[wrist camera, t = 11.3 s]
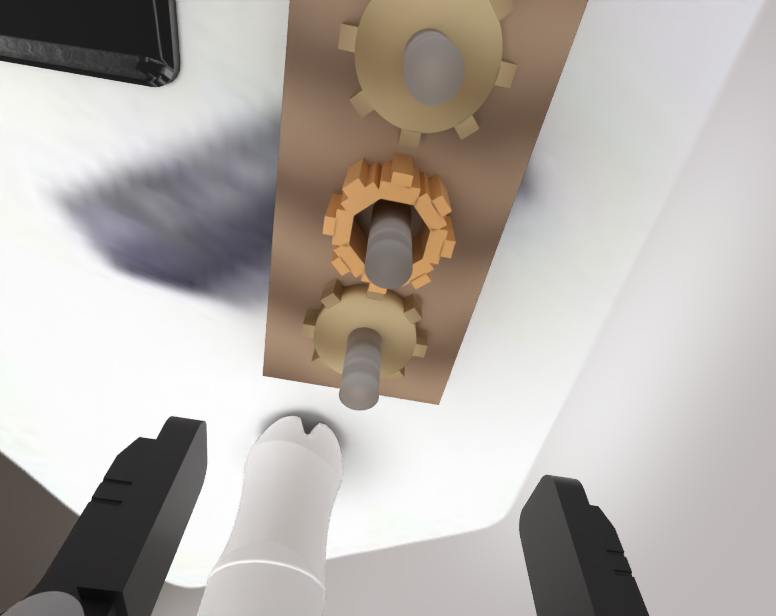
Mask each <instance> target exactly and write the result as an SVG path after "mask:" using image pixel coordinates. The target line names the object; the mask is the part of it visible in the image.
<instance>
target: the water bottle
mask: <svg viewBox="0 0 776 616" xmlns="http://www.w3.org/2000/svg"><path fill="white" fill-rule="evenodd" d="M342 474H343V467H342V456H341V450H340V446H339V443H338V440H337V438H336V436H335V434H334V433H333V431H332V430H331V429H330V428H329V427H328V426H327V425H325V424H323V423H320V422H319V424H317V425H316V426H315V427H314V428H313V430H312V431H311V432H310V434H305V433H304V429H303V426H302V422H301V419H300V417H297V416H287V417H283V418H281V419H279V420H278V421H276V422H275V423H273V424H272V425H271V426H270V427H269V428H268V429H267V430H266V431H265V432H264V433H263V434H262V435H261V436H260V437H259V438H258V439H257V440H256V441H255V443H254V444H253V445H252V447H251V449H250V451H249V453H248V456H247V459H246V462H245V466H244V479H243V487H242V495H241V500H240V505H239V509H238V513H237V517H236V520H235V524H234V527H233V530H232V532H231V535H230V538H229V540H228V542H227V545H226V547H225V549H224V551H223V553H222V555H221V557H220V558H219V560H218V562H217V564H216V565H215V566H214V568H213V569H212V571H211V572H210V574H209V576H208V579H207V586H206V589H205V592H204V595H203V598H202V601H201V604H200V607H199V610H198V613H197V616H323V610H324V602H325V599H326V583H325V558H326V543H327V533H328V527H329V521H330V516H331V512H332V508H333V504H334V501H335V498H336V495H337V492H338V490H339V487H340V485H341V482H342Z"/></svg>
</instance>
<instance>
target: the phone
mask: <svg viewBox="0 0 776 616" xmlns="http://www.w3.org/2000/svg"><path fill="white" fill-rule="evenodd" d="M0 61H5V62H11V63H17V64H22V65H28V66H34V67H40V68H45V69H51V70H57V71H63V72H69V73H74V74H80V75H86V76H92V77H97V78H103V79H109V80H115V81H121V82H126V83H132V84H138V85H144V86H149V87H160V86H163V85H165V84H168V83H171V82H172V81H173V80H174V79H175V78H176V77H177V76H178V73H179V71H180V53H179V40H178V28H177V15H176V2H175V0H0Z"/></svg>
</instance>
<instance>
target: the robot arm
mask: <svg viewBox="0 0 776 616" xmlns="http://www.w3.org/2000/svg"><path fill="white" fill-rule="evenodd" d="M206 469H207V430H206V422H205V421H200V420H194V419H187V418H181V417H174V416H171V417H169V418H168V420H167V421H166V422H165V424H164V426H163V428H162V430H161V431H160V433H159V435H158V437H157V439H149V438H142V437H139V438H138V439H136V440H135V441H134V442H133V443H132V444H130V445H129V446H128V447H127V448H126V449H124V450H123V451H122V452H121V453H120V454H118V455H117V457H116V458H115V460H114V462H113V463H112V465H111V467H110V468H109V470H108V472H107V473H106V475H105V476H104V479H103V482H102V483H100V485H99V486H98V488H97V490H96V491H95V493H94V495H93V496H92V500H91V502H89V503H88V504H87V506H86V508H85V509H84V511H83V513H82V514H81V516H80V518H79V519H78V521H77V522H76V524H75V526H74V527H73V529H72V531H71V532H70V534H69V536H68V537H67V539H66V541H65V542H64V544H63V545H62V547H61V549H60V550H59V552H58V554H57V555H56V557H55V559H54V560H53V562H52V564H51V565H50V567H49V569H48V570H47V572H46V573H45V575H44V576H43V578H42V579H41V581H40V582H39V583H38V584H37V586H36V587H35V588H34V589H33V590H32V591H31V592H30V593H29V594H28V595H27V596H26V597H25V598H24V599H22V600H21V601H20V602H18V603H17V604H15V605H14V606H12V607H11V608H10V609H8V610H6V611H5V612H3V613H1V614H0V616H151V614H152V611H153V608H154V606H155V603H156V601H157V599H158V596H159V593H160V591H161V589H162V586H163V584H164V581H165V579H166V576H167V574H168V571H169V569H170V566H171V564H172V561H173V559H174V556H175V554H176V551H177V549H178V546H179V544H180V541H181V539H182V536H183V534H184V531H185V529H186V526H187V524H188V521H189V519H190V516H191V514H192V511H193V509H194V506H195V504H196V501H197V499H198V496H199V494H200V491H201V489H202V486H203V482H204V479H205V475H206ZM519 532H520V538H521V542H522V547H523V552H524V556H525V561H526V566H527V571H528V576H529V580H530V585H531V590H532V594H533V599H534V604H535V608H536V613H537V616H649V614H648V611H647V609H646V606H645V604H644V601H643V599H642V596H641V593H640V591H639V588H638V586H637V583H636V581H635V578H634V577H632V571H631V568H630V566H629V563H628V560H627V558H626V557H624V550H623V548H622V545H621V543H620V540H619V538H618V535H617V533H616V530H615V528H614V526H613V525H612V524H611V522H610V521H609V520H608V518H607V517H606V516H605V514H604V513H603V512H602V510H601V509H600V508H599V507H598V506H593V505H590V504H589V502H588V499H587V496H586V493H585V491H584V488H583V486H582V484H581V483H580V482H579V481H578V480H577V479H572V478H565V477H558V476H552V475H545V476H543V477H542V479H541V480H540V482H539V483H538V485H537V486H536V488H535V490H534V491H533V493H532V495H531V496H530V498H529V500H528V501H527V503H526V504H525V506H524V507H523V509H522V512H521V515H520V521H519Z"/></svg>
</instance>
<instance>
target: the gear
mask: <svg viewBox="0 0 776 616" xmlns="http://www.w3.org/2000/svg"><path fill="white" fill-rule="evenodd" d="M342 190H343V191H342V194H336V193H333V194H332V197H331V199H330V202H329V205H328V208H327V211H326V214H325V218H324V226H323V233H322V234H326V235H331V236H333V239H332V244H333V245H335V247H334V253H333V256H332V260H331V263H332V264H333V265H334V267H335V268H336V269H337V270H338V272H339V273H340V274H341V275H342V276H343V275H344V274H346V273H348V272H349V271H350V272H351V273H352V274H353V275H354V276H355V278H356V277H358V276H359V275H361V274H362V278H361V281H364V282H369V289H368V291H371V292H377V293H382V294H386V291H387V289H384V288H380V287H378V286H376V285H374V284H373V283H371V282H370V280H369V279H368V278H367V276H366V273H365V260H366V253H367V245H368V237H367V236H366V234H365V233H364V232H363V230H362V229H361V228H360V226H359V225H358V224H357V222H356V221H355V220H354V218H355V215H356V214H357V213H359V212H360V211H362V210H364V209H365V208H367V207H368V206H370V205H371V204H373V203H375V202H376V201H378V200H379V199H385V200H390V201H395V202H400V203H405V204H410V205H414V207H415V208H416V210H417V211H418V213H419V214H420V216H421V217H422V219H423V220H424V222H423V226H422V230H421V232H420V233H419V234H417V235H415V236H414V237H412V263H413V271H412V275H411V277H410V279H409V280H408V281H407V282H406V283H405V284H404V285H402V286H405V285H407V284H408V283H410V282H411V284H412V285H413V286H414V288H415V289H418V288H420V287H422V286H423V285H425V284H427V283H429V282H431V273H430V271H432V270H434V265H433V264H438V263H439V260H440V256H441V257H446V258H451V256H452V252H453V249H454V246H455V243H456V240H455V236H454V231H453V226H452V222H451V217H450V216H446V214H448V213H450V212H451V211H452V210H451V205H450V201H449V196H448V192H447V188H446V186H445V185H444V183H443V181H442V180H441V178H440V177H439V175H438V174H436V175H434V176H433V177H431V178H430V179H429V178H428V177H427V175H426V173H425V172H423V173H421V174H419V168H418V167H413V159H412V156H411V155H406V154H401V153H397V152H394V155H393V160H392V162H389V161H384V160H383V163H382V168H381V167H380V166H379V164H378V163H377V162H375V163H374V164H372V165H371V166H368V164H367V163H366V161H365V160H364V158H362V159H361V160H359V161H358V162H357V163H355V164H354V165H352V166H351V167H349V168H348V171H347V174H346V177H345V181H344V184H343V187H342Z"/></svg>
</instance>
